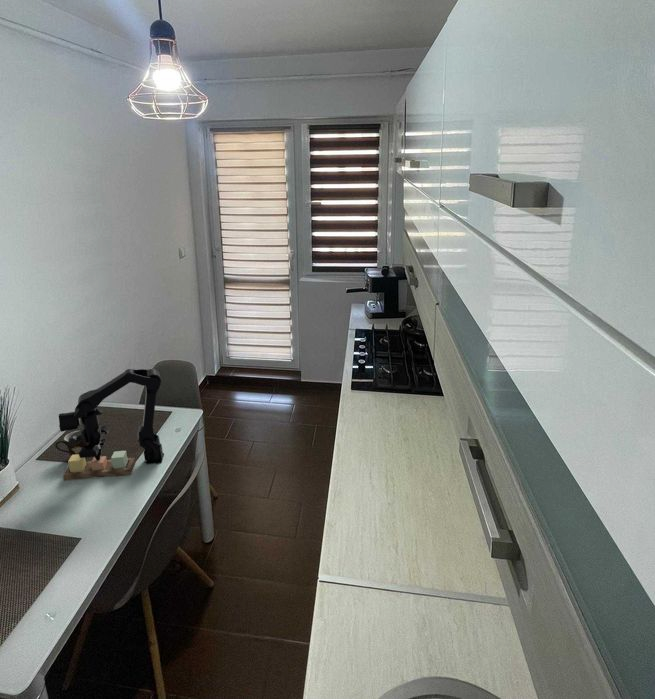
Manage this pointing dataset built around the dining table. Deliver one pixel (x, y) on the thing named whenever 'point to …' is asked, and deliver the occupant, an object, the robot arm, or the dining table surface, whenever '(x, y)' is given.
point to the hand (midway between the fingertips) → (98, 459)
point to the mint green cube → (119, 459)
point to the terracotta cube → (99, 463)
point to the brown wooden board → (100, 471)
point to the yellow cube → (76, 463)
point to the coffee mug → (72, 449)
